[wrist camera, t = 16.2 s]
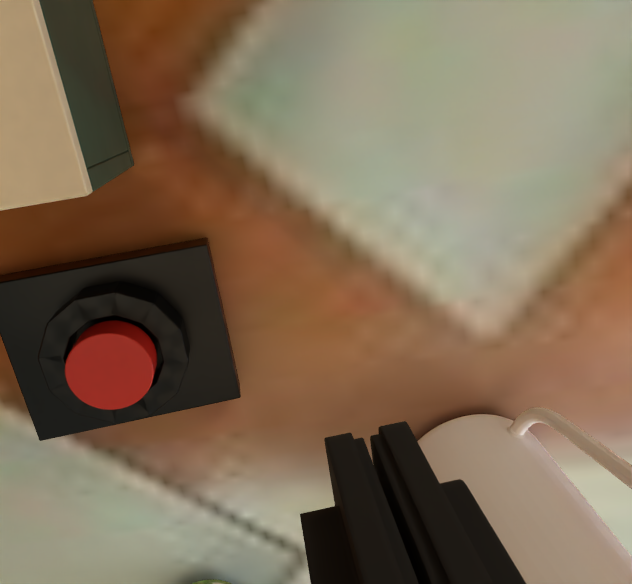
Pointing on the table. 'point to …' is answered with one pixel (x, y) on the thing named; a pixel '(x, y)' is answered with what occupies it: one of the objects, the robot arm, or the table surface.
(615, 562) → the coffeepot
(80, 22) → the box
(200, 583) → the beverage can
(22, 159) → the lid
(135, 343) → the button
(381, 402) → the table surface
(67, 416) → the switch block
